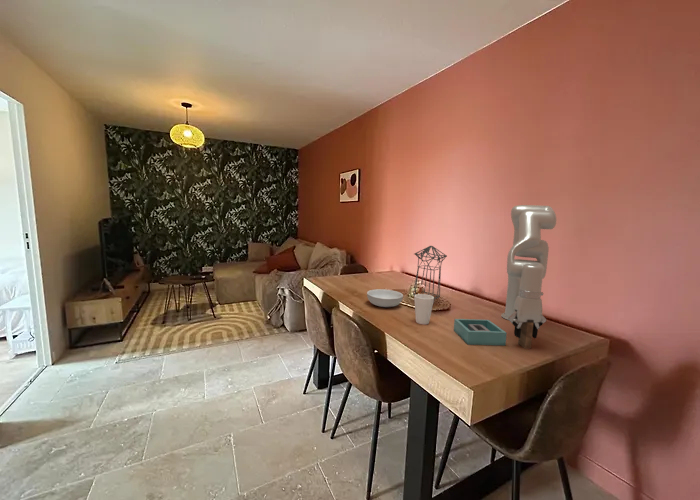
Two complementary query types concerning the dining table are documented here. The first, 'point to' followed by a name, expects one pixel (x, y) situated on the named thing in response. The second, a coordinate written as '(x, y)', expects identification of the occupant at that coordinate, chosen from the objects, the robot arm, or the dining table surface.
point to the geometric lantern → (429, 267)
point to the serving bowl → (384, 297)
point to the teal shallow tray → (479, 332)
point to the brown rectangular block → (526, 334)
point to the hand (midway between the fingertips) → (525, 336)
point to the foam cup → (423, 308)
